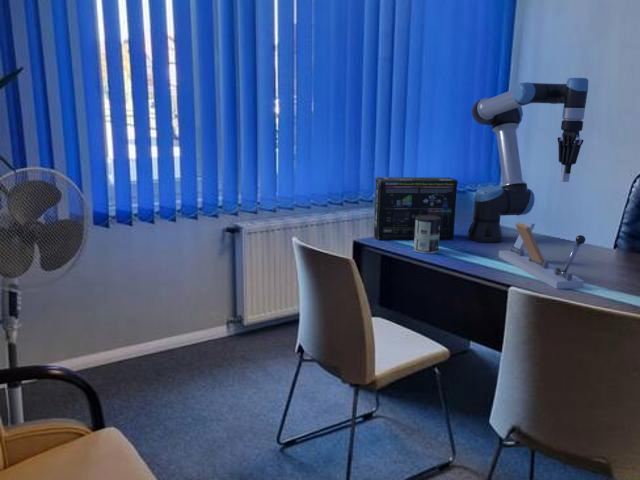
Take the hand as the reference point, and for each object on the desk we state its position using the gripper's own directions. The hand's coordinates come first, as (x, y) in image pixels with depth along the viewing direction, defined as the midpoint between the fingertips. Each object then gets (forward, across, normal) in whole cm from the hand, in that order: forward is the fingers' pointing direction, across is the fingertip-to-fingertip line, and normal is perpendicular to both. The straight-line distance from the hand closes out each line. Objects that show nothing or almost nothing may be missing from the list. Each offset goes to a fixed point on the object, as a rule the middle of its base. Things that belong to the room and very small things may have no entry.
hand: (564, 181), depth 217 cm
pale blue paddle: (+27, -3, +19) cm, 33 cm away
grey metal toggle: (+27, -33, +19) cm, 46 cm away
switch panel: (+30, -18, +19) cm, 40 cm away
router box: (+31, +36, +47) cm, 67 cm away
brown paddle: (+27, -18, +19) cm, 37 cm away
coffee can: (+31, +14, +50) cm, 60 cm away
